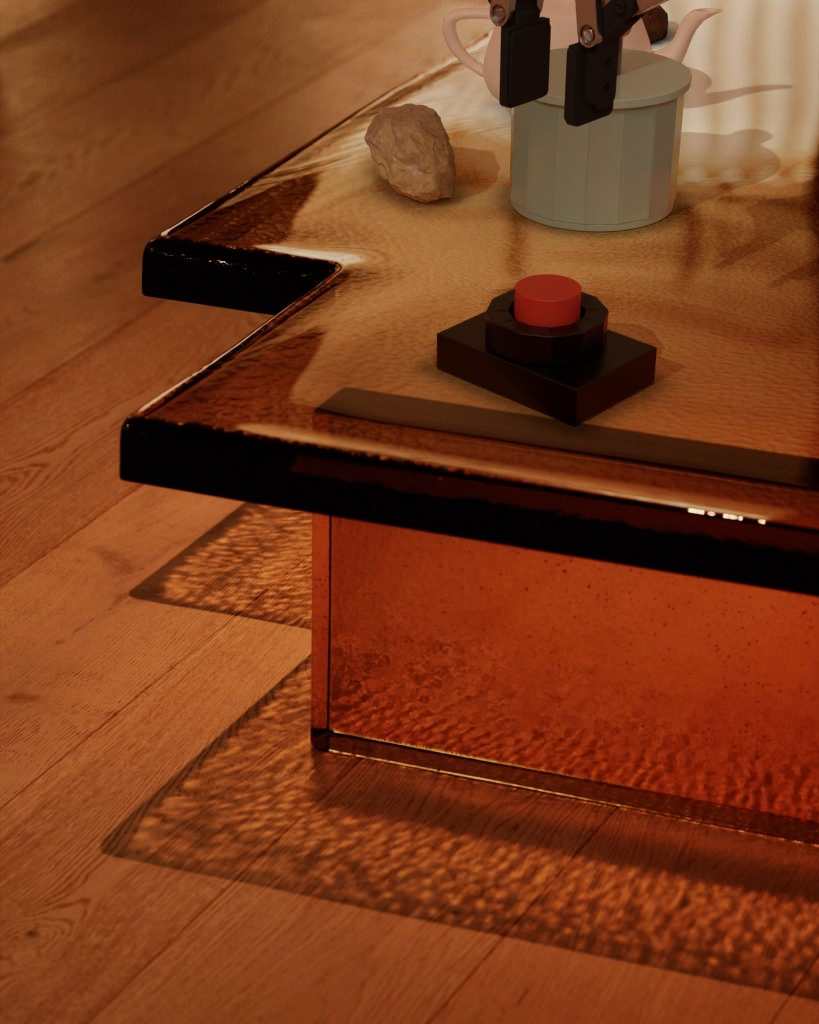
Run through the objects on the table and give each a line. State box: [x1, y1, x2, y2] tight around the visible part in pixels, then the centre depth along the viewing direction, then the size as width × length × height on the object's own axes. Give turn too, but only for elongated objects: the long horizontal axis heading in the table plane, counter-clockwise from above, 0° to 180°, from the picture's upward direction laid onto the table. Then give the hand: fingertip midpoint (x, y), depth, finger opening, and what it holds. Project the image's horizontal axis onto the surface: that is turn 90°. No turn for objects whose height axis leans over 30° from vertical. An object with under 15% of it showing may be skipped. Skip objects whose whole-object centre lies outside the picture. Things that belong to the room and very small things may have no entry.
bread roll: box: [642, 5, 669, 43], centre depth 148 cm, size 11×11×5 cm
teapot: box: [442, 0, 724, 113], centre depth 127 cm, size 22×14×11 cm, turn 78°
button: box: [514, 273, 583, 327], centre depth 87 cm, size 4×4×2 cm
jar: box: [508, 94, 685, 233], centre depth 110 cm, size 11×11×8 cm
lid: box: [536, 0, 693, 109], centre depth 106 cm, size 12×12×7 cm
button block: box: [436, 288, 658, 427], centre depth 88 cm, size 10×7×4 cm
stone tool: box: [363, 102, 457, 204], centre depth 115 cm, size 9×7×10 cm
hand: (555, 106), depth 81 cm, fingers open, 3 cm apart
